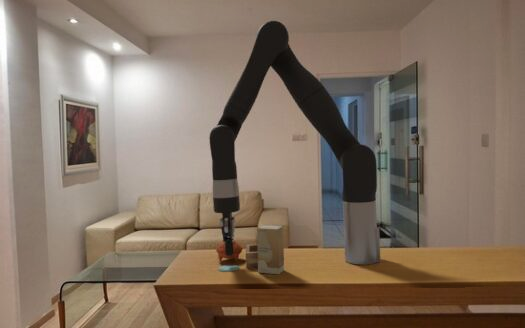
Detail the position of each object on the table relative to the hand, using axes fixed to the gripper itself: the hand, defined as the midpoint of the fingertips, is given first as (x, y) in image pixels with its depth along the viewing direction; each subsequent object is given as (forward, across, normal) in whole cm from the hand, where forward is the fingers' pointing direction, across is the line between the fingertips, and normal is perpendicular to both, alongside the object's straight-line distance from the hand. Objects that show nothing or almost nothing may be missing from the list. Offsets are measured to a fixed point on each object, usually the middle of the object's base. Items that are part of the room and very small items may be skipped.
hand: (229, 254), depth 111 cm
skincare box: (+4, -7, -12) cm, 14 cm away
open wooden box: (+3, +2, -9) cm, 10 cm away
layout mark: (+3, -2, 0) cm, 4 cm away
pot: (+4, +6, +1) cm, 7 cm away
